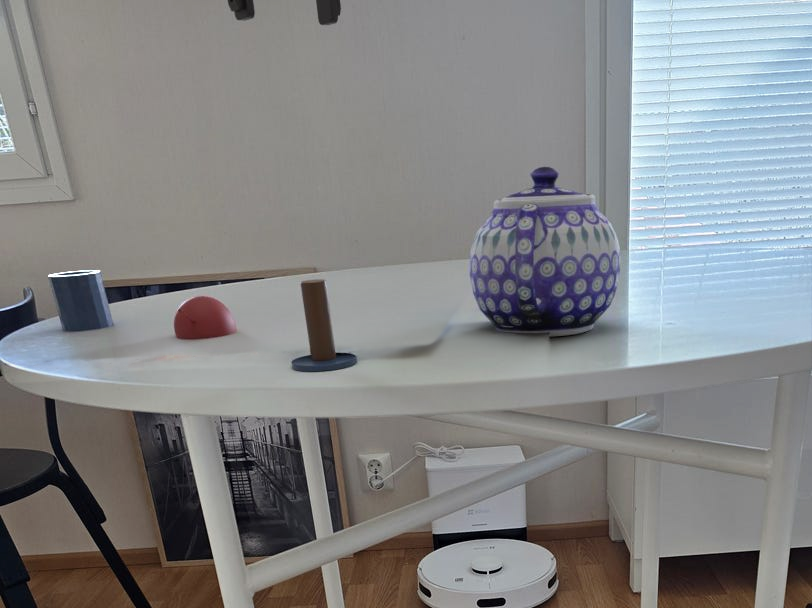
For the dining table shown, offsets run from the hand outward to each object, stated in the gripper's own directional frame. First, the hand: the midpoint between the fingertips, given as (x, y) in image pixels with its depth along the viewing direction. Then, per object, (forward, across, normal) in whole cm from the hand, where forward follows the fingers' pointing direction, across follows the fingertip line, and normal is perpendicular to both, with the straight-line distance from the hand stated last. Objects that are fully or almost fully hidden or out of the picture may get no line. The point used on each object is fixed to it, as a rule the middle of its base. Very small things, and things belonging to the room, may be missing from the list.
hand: (288, 21), depth 75 cm
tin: (+28, +14, -28) cm, 42 cm away
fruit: (+28, +10, -8) cm, 31 cm away
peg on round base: (+27, +8, +11) cm, 30 cm away
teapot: (+28, -18, +14) cm, 36 cm away
